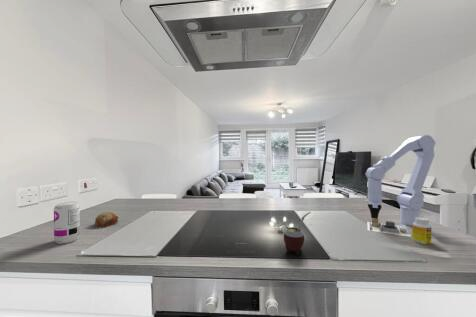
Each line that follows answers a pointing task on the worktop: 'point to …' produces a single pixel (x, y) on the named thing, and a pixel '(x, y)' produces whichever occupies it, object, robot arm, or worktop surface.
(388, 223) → the black push button
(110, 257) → the worktop surface
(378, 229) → the switch board
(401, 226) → the grey rocker switch
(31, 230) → the worktop surface
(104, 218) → the bread roll
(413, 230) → the supplement bottle
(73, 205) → the supplement can
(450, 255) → the worktop surface
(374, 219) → the tan block
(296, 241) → the mate gourd
